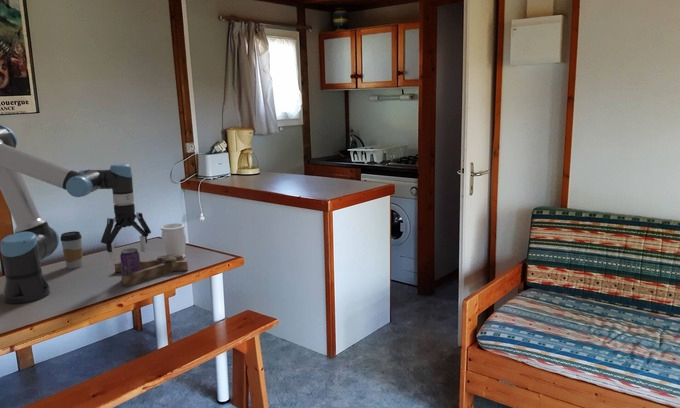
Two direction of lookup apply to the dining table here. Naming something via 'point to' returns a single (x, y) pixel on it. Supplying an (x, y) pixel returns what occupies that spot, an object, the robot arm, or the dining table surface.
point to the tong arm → (150, 263)
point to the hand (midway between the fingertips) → (128, 255)
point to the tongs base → (148, 272)
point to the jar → (174, 239)
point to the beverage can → (130, 261)
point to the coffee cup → (72, 249)
